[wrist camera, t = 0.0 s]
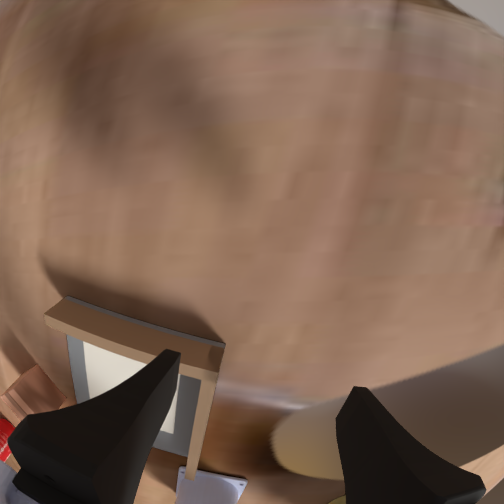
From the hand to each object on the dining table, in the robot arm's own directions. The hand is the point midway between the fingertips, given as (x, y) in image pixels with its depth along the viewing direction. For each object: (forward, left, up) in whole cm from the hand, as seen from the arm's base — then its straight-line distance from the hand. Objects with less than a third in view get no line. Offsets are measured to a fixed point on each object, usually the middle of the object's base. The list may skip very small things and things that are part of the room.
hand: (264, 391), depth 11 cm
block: (-19, +21, -10) cm, 30 cm away
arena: (-13, +9, -10) cm, 19 cm away
